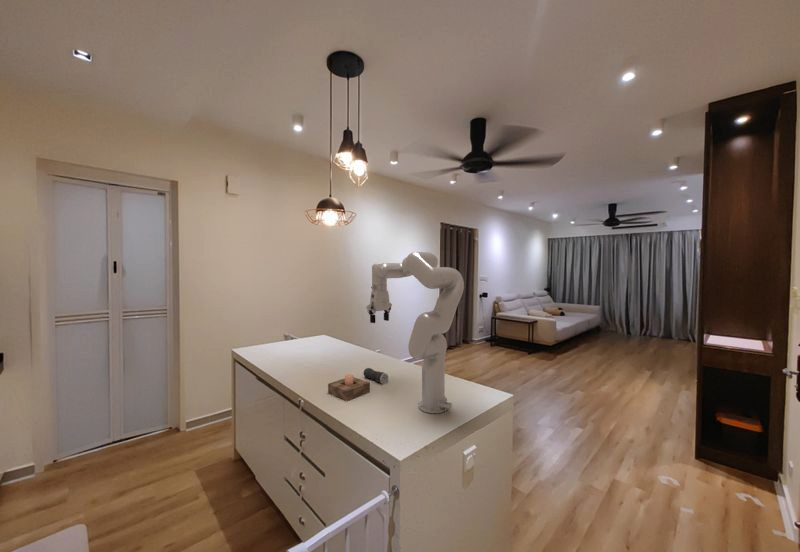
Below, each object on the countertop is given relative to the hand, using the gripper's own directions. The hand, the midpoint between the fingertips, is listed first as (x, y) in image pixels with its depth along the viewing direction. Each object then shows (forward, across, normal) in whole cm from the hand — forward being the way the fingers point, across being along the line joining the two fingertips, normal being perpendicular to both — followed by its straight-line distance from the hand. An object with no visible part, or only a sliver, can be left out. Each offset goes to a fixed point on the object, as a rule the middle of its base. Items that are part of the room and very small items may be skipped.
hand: (379, 321), depth 159 cm
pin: (+32, -17, +4) cm, 37 cm away
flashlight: (+33, +3, +7) cm, 34 cm away
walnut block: (+32, -17, +4) cm, 37 cm away
